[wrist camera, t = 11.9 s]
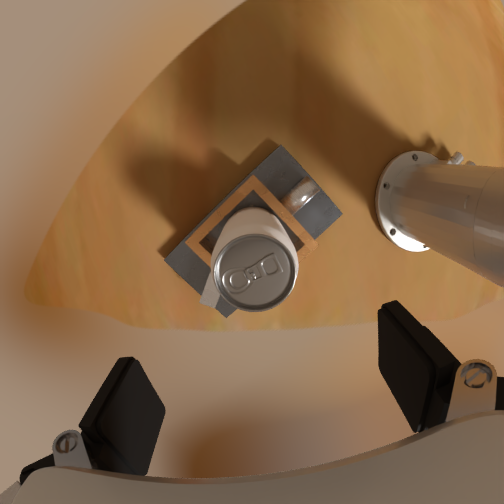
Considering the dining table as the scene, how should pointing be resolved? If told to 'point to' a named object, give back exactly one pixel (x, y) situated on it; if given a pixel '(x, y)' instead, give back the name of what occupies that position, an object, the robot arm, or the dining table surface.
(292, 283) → the can
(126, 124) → the dining table surface
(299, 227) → the base
